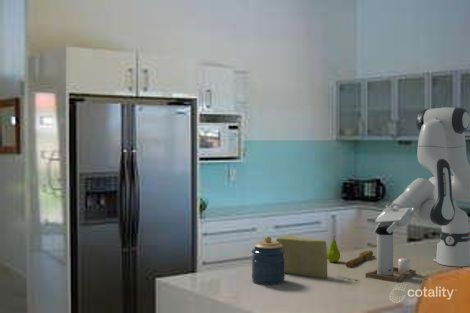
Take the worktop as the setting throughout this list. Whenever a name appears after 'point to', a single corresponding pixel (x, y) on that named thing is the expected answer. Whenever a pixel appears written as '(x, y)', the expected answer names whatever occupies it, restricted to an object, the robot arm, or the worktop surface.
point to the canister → (268, 262)
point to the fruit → (333, 252)
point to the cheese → (304, 256)
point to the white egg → (403, 266)
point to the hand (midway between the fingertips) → (381, 232)
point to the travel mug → (384, 252)
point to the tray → (395, 277)
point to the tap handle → (359, 258)
